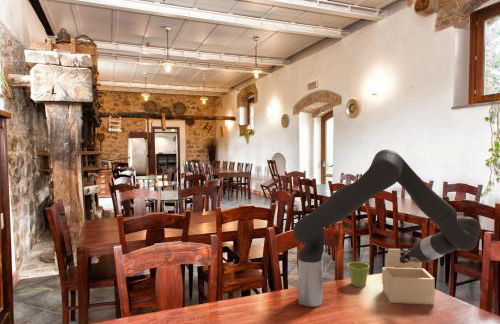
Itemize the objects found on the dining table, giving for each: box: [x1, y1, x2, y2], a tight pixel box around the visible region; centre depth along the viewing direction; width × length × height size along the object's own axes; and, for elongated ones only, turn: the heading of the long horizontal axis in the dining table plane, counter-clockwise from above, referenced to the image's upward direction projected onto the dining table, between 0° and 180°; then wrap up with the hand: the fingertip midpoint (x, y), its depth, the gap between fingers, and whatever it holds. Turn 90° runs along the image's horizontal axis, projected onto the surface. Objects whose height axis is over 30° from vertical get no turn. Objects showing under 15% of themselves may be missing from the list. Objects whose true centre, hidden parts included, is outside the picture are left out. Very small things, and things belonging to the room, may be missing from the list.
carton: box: [381, 266, 436, 306], centre depth 140 cm, size 17×12×10 cm
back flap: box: [385, 248, 423, 268], centre depth 142 cm, size 14×1×10 cm
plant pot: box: [347, 261, 370, 288], centre depth 154 cm, size 9×9×9 cm
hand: (401, 260), depth 136 cm, fingers closed
